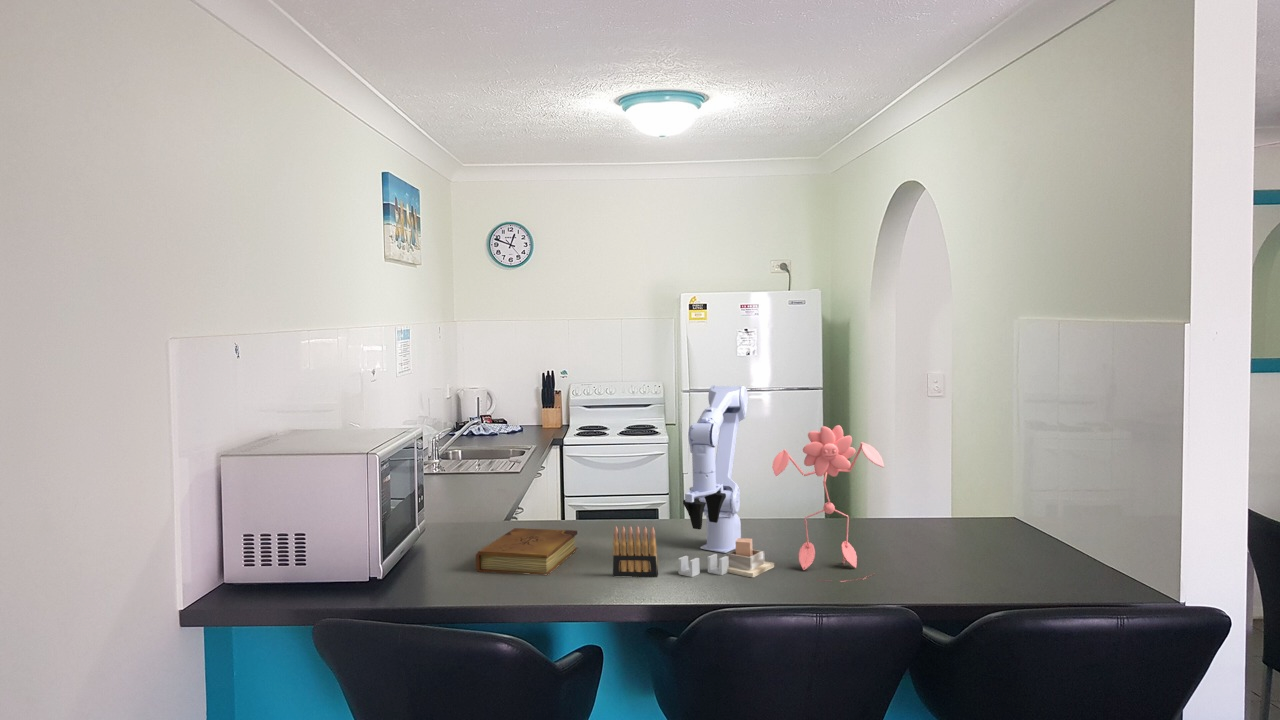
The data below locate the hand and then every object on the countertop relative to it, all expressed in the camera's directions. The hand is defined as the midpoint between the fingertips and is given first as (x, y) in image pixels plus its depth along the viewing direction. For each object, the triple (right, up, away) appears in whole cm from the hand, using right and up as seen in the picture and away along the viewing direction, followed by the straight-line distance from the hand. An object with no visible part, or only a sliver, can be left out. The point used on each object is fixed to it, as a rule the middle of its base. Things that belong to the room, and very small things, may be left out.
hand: (705, 525), depth 213 cm
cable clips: (-1, -10, -8) cm, 13 cm away
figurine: (+29, -9, -10) cm, 32 cm away
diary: (-45, -11, +7) cm, 47 cm away
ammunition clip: (-17, -11, -9) cm, 22 cm away
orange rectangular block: (+9, -8, -6) cm, 14 cm away
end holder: (+9, -9, -6) cm, 14 cm away
